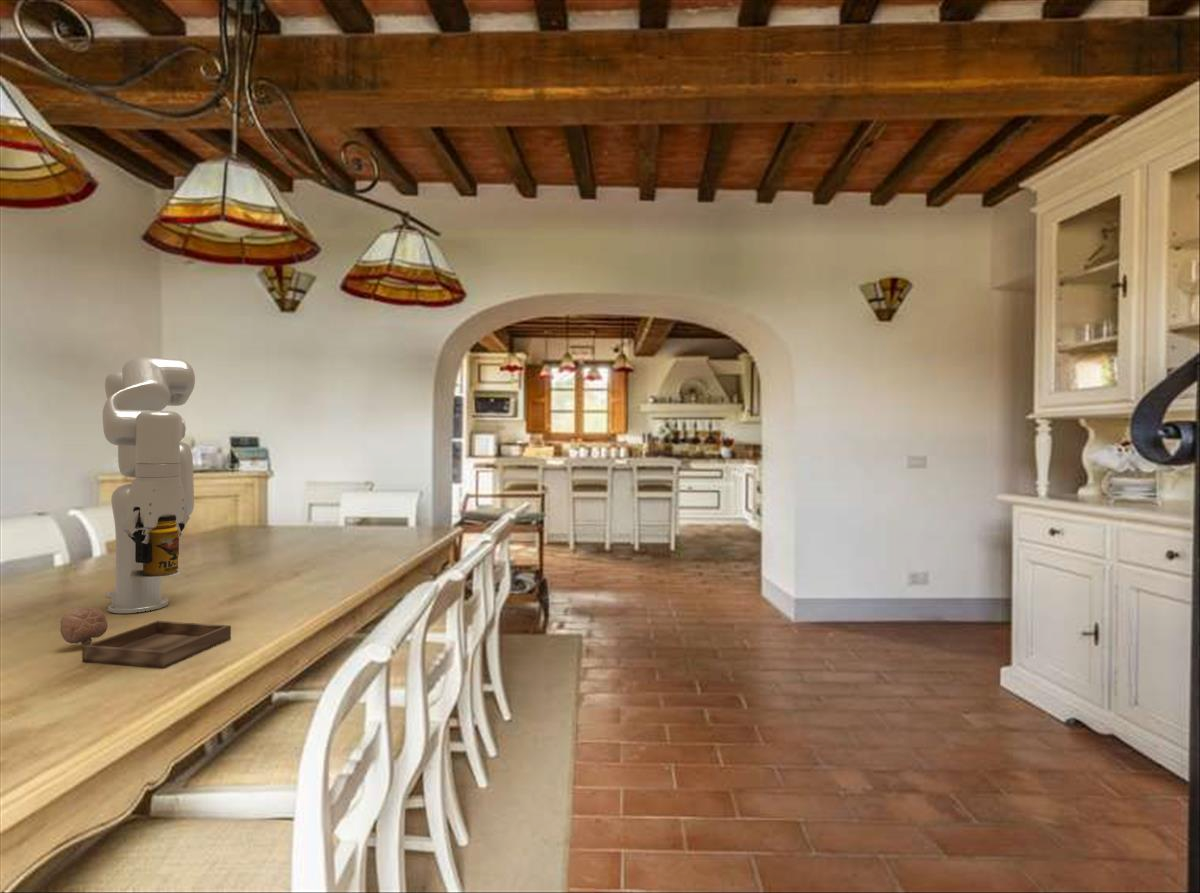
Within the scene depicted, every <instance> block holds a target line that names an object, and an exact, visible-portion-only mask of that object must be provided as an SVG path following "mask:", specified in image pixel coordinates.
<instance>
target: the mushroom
mask: <svg viewBox="0 0 1200 893" xmlns="http://www.w3.org/2000/svg"><path fill="white" fill-rule="evenodd" d="M108 627H109V626H108V620H107V617H106V615H105V613H104V612H103V611H102V610H101V609H99V608H97V607H87V606H85V607H76V608H72V609H70V610H68V611H67V612H65V613H64V614H63V616H62V617H61V620H60V629H59V631H60V634H61V636H62V638H63V640H64V641H65V642H67V643H69V644H70V645H71V644H79V643H81V645H82V646H85V645H88V644H91V643H93V638H94V639H95V638H100V637H102V636H103V635H105V633H106V632H107V630H108Z"/></svg>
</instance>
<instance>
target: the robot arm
mask: <svg viewBox="0 0 1200 893" xmlns="http://www.w3.org/2000/svg"><path fill="white" fill-rule="evenodd" d="M195 382H196V376H195V371H194V369H193V367H192V365H191V364H190V363H189V362H188V361H185V360H184V359H180V358H179V359H178V358H177V359H176V358H164V357H152V356H151V357H150V356H149V357H148V356H139V357H137V356H136V357H133V358H131V359H129V360H128V361H126V362H125V363H124V365H123V367H122V370H116V371H112V372H110V373H109V374H108V375H107V376H106V377H105V380H104V388H105V390H104V391H105V395H106V399H107V400H106V401H105V403H104V405H103V407H102V408H103V409H102V427H103V428H102V429H103V433H104V437H105V440H106V441H107V442H108V443H110V445H111V444H112V445H115V446H117V456H118V457H117V460H118V468H119V472H120V474H121V475H122V476H124V477H126V478H129V479H131V478H132V480H131V483H128V484H127V483H126V484H124V485H120V486H118V487H117V488H115V489H114V491H113V492H112V494H111V509H112V514H113V521H114V530H115V532H114V533H115V589H114V588H113V589H110V590H108V591H107V592H106V593H105V594H104V599H107V600H108V599H109V600H110V599H111V603H110V604H109V605H108V606H107V611H108V612H109V613H111V614H112V613H113V614H136V613H137V612H138V613H145V611H146V612H149V611H150V610H151V611H155V609H156V610H158V609H162V608H165V607H167V606H168V605H169V598H167V597H162V576H161V577H144V578H142V577H141V578H132V579H129V577H130V575H131V571H132V570H143V563H151V561H152V556H151V555H152V543H148V542H149V540H150V537H151V533H152V530H153V529H154V528H156V527H157V524H158V519H159V518H160V517H167V516H172V515H175V516H176V527H177V528H178V556H179V554H180V552H179V551H180V550H179V549H180V538H181V537H182V531H183V530H184V529H185V527H186V524H187V523H188V522H189V520H190V518H191V517H190V516H191V515H192V513H193V511H194V507H195V489H194V488H195V487H194V486H195V484H194V461H193V453H192V450H191V448H190V446H189V445H188V444H187V443H186V442H184V441H182V440H183V439H184V438H185V437H186V430H187V427H186V420H185V419H183V417H182V415H180V414H179V413H177V412H176V411H170V410H169V411H168V410H164V409H165V408H166V407H167V406H168V407H169V406H171V407H172V406H173V407H177V406H179V407H180V406H184V404H185V405H186V403H187V402H188V400H189V398H190V396H191V394H192V393H193V390H194V389H195V388H194V387H195V384H196V383H195ZM143 531H145V533H144V536H143ZM151 611H150V612H151Z"/></svg>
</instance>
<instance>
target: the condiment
mask: <svg viewBox="0 0 1200 893" xmlns="http://www.w3.org/2000/svg"><path fill="white" fill-rule="evenodd" d="M144 533H145V531H143V536H144ZM148 543H152V555H151V556H152V561H151V563H143V570H132V571H131V575H130V577H129V579H132V578H141V577H142V578H144V577H161V578H162V577H170V576H172V577H173V576H174V577H175V576H179V575H181V567H179V555H178V528H177V527H176V516H175V515H172V516H167V517H160V518H159V519H158V524H157V527H156V528H154V529H153V530H152V533H151V537H150V540H149V542H148Z"/></svg>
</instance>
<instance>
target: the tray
mask: <svg viewBox="0 0 1200 893" xmlns="http://www.w3.org/2000/svg"><path fill="white" fill-rule="evenodd" d="M231 630H232V626H231V625H226V624H225V625H224V624H213V623H212V624H211V623H208V624H207V623H197V622H196V623H195V622H183V621H182V622H181V621H169V620H165V621H164V620H156V621H153V622H150V623H147V624H144V625H141V626H138V627H136V628H132V629H130V630H126V631H123V632H121V633H118V634H114V635H112V636H109V637H105V638H103V639H100V640H98V641H94V642H91V643H90V644H88V645H85V646H84V645H82V647H81V649H82V650H81V651H82V653H81V654H82V655H81V657H82V659H81V660H82V661H81V662H82V663H92V664H93V663H94V664H104V665H105V664H107V665H116V666H117V665H119V666H129V665H130V666H129V667H132V666H133V667H142V668H145V667H146V668H154V669H155V668H157V669H158V668H159V669H166V668H168V667H171V666H172V664H173V665H175V664H177V663H180V662H182V661H184V660H187V659H188V657H189V658H192V657H194V656H196V655H199V654H200V653H202V651H203V652H205V651H207V650H210V649H211V647H212V648H213V646H214V647H217V646H218V645H217V644H219V645H221V644H223V643H225V641H226V642H228V641H230V640H231V638H232V631H231ZM229 639H230V640H229ZM227 640H228V641H227ZM222 642H223V643H222ZM220 643H221V644H220ZM216 645H217V646H216ZM209 648H210V649H209ZM204 650H205V651H204ZM195 654H196V655H195ZM193 655H194V656H193ZM186 658H187V659H186ZM181 660H182V661H181ZM179 661H180V662H179ZM170 665H171V666H170Z"/></svg>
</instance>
